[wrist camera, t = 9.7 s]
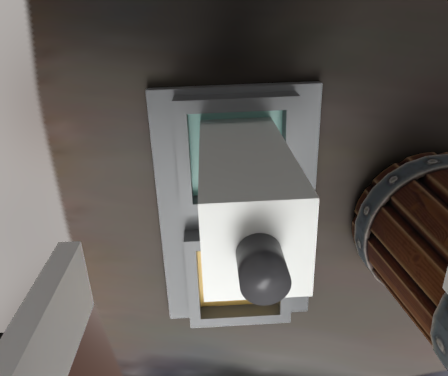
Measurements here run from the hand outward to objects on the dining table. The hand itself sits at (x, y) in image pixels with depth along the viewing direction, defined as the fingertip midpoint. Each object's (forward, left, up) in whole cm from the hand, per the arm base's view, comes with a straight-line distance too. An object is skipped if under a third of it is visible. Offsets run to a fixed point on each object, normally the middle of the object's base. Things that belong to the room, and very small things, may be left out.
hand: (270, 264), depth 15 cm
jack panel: (+5, 0, -14) cm, 15 cm away
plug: (0, 0, -13) cm, 13 cm away
